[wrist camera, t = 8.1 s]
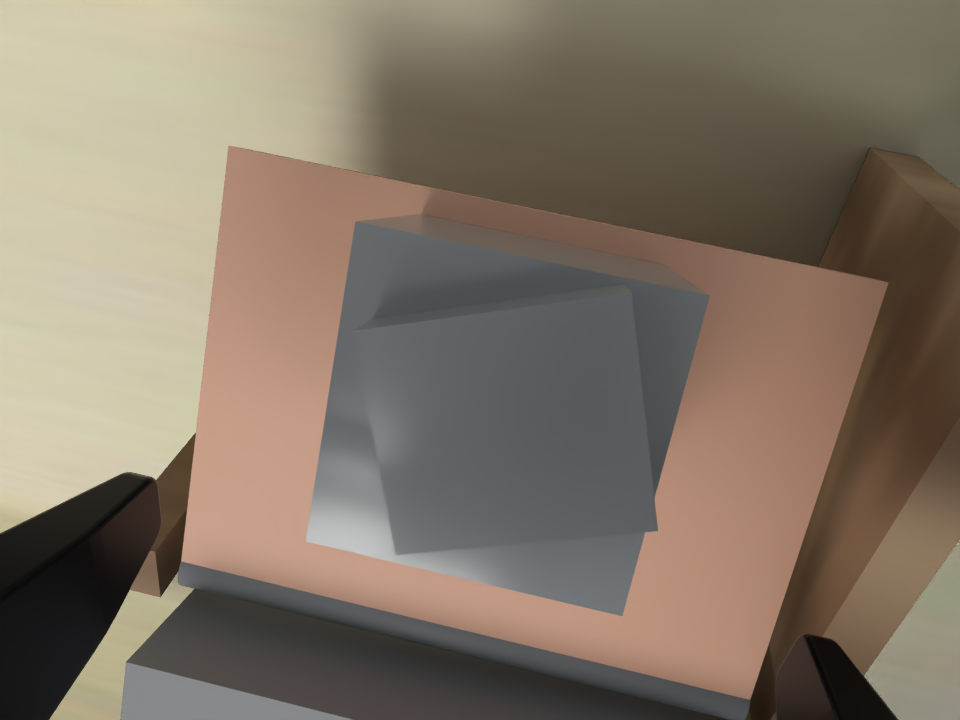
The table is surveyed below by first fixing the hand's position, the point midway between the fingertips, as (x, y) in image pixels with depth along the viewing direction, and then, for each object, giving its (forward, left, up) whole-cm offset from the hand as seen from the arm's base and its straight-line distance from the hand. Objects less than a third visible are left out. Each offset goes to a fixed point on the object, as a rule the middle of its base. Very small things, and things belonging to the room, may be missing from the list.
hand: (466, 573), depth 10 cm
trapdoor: (-5, 0, -8) cm, 9 cm away
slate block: (0, 0, -6) cm, 6 cm away
